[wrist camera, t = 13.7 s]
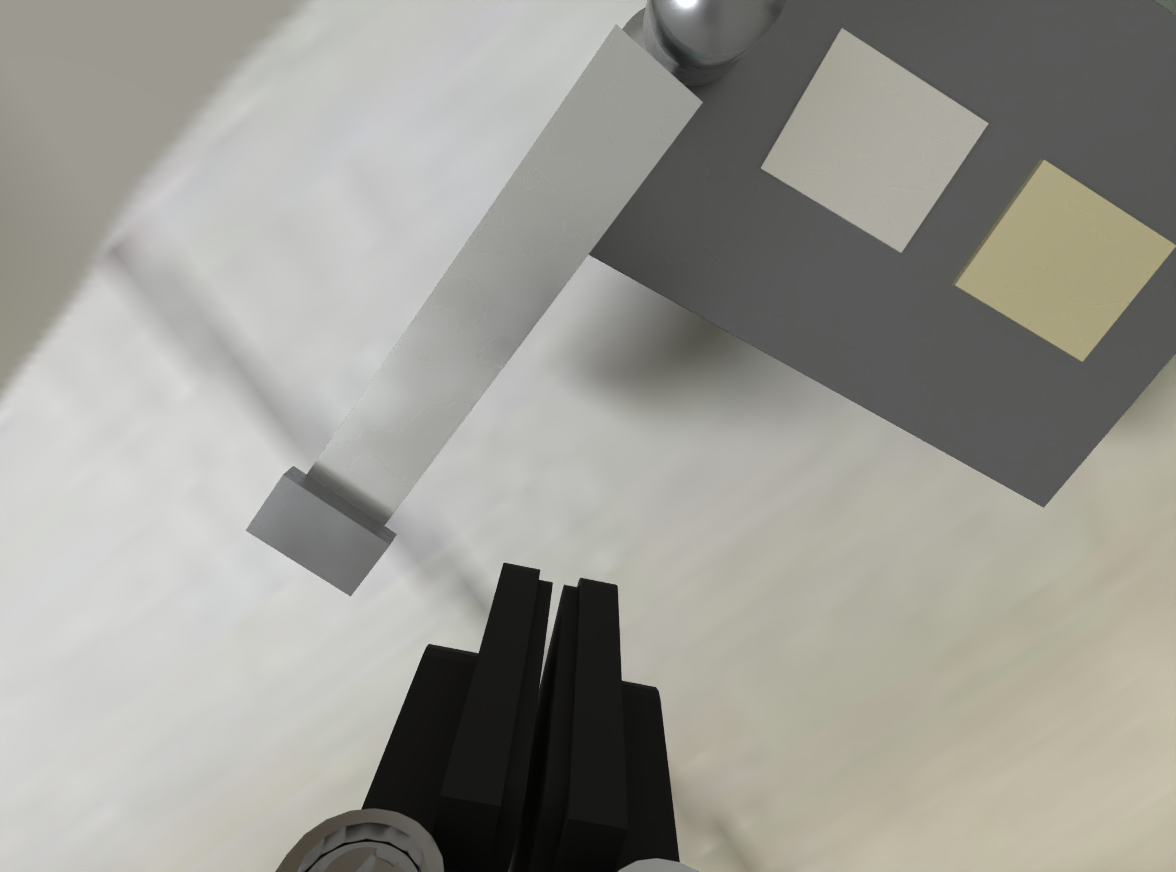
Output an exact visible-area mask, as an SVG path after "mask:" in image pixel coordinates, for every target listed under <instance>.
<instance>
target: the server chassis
mask: <svg viewBox="0 0 1176 872" xmlns="http://www.w3.org/2000/svg"><path fill="white" fill-rule="evenodd" d="M645 9H646V7H645V8H644V9H642V10H640V11H639V12H638V13H637V14H636V15H634V16H633V17H632V18H631V19H630V20H629V21H628V22H627V24H626V25H625V27H624V28H623V29H622V30H623V31H624V32H625V33H626V34H627V35H629V36H630V37H631V38H632V39H633V40H634V41H635V42H636V43H638V44H639V45H640V46H641V47H642V48H643V49H644V50H645V51H646V52H647V49H646V46H645V42H644V36H643V20H644V14H645ZM683 85H684V84H683ZM684 86H685V87H687V88H688V89H689V90H690V91H691V92H692V93H693V94H694V95H695V96H697V97H698V98H699V99H700V100H701V101H702V102H703V103H702V104H701V105H700V107H699V108H698V109H697V111H696V112H695V113H694V115H693V116H692V117H691V119H690V120H689V121H688V123H687V124H686V125H685V127H684V128H683V129H682V131H681V132H680V133H679V135H678V136H677V137H676V139H675V140H674V141H673V143H672V144H671V145H670V147H669V148H668V149H667V151H666V152H665V153H664V155H663V156H662V157H661V159H660V160H659V161H658V163H657V164H656V165H655V167H654V168H653V169H652V171H651V172H650V173H649V175H648V176H647V177H646V178H645V180H644V181H643V182H642V184H641V185H640V186H639V188H638V189H637V190H636V192H635V193H634V194H633V196H632V197H631V198H630V200H629V201H628V202H627V204H626V205H625V206H624V208H623V209H622V210H621V212H620V213H619V214H618V216H617V217H616V218H615V220H614V221H613V222H612V224H611V225H610V226H609V228H608V229H607V230H606V232H605V233H604V234H603V236H602V237H601V238H600V240H599V241H598V242H597V244H596V245H595V246H594V248H593V249H592V250H591V252H590V253H589V255H590V256H592V257H594V258H596V259H598V260H599V261H601V262H603V263H605V264H607V265H608V266H610V267H612V268H614V269H616V270H617V271H619V272H621V273H623V274H625V275H626V276H628V277H630V278H632V279H634V280H635V281H637V282H639V283H641V284H643V285H644V286H646V287H648V288H650V289H652V290H653V291H655V292H657V293H659V294H661V295H662V296H664V297H666V298H668V299H670V300H671V301H673V302H675V303H677V304H679V305H680V306H682V307H684V308H686V309H688V310H689V311H691V312H693V313H695V314H697V315H698V316H700V317H702V318H704V319H706V320H707V321H709V322H711V323H713V324H715V325H716V326H718V327H720V328H722V329H724V330H725V331H727V332H729V333H731V334H733V335H734V336H736V337H738V338H740V339H742V340H743V341H745V342H747V343H749V344H750V345H752V346H754V347H756V348H758V349H759V350H761V351H763V352H765V353H767V354H768V355H770V356H772V357H774V358H776V359H777V360H779V361H781V362H783V363H785V364H786V365H788V366H790V367H792V368H794V369H795V370H797V371H799V372H801V373H803V374H804V375H806V376H808V377H810V378H812V379H813V380H815V381H817V382H819V383H821V384H822V385H824V386H826V387H828V388H830V389H831V390H833V391H835V392H837V393H839V394H840V395H842V396H844V397H846V398H848V399H849V400H851V401H853V402H855V403H857V404H858V405H860V406H862V407H864V408H866V409H867V410H869V411H871V412H873V413H875V414H876V415H878V416H880V417H882V418H884V419H885V420H887V421H889V422H891V423H893V424H894V425H896V426H898V427H900V428H902V429H903V430H905V431H907V432H909V433H911V434H912V435H914V436H916V437H918V438H920V439H921V440H923V441H925V442H927V443H929V444H930V445H932V446H934V447H936V448H938V449H939V450H941V451H943V452H945V453H947V454H948V455H950V456H952V457H954V458H956V459H957V460H959V461H961V462H963V463H965V464H966V465H968V466H970V467H972V468H974V469H975V470H977V471H979V472H981V473H982V474H984V475H986V476H988V477H990V478H991V479H993V480H995V481H997V482H999V483H1000V484H1002V485H1004V486H1006V487H1008V488H1009V489H1011V490H1013V491H1015V492H1017V493H1018V494H1020V495H1022V496H1024V497H1026V498H1027V499H1029V500H1031V501H1033V502H1035V503H1036V504H1038V505H1040V506H1042V507H1045V506H1046V504H1047V503H1048V502H1049V501H1050V500H1051V499H1052V497H1053V496H1054V495H1055V494H1056V493H1057V492H1058V490H1059V489H1060V488H1061V487H1062V486H1063V484H1064V483H1065V482H1066V481H1067V480H1068V479H1069V477H1070V476H1071V475H1072V474H1073V473H1074V472H1075V470H1076V469H1077V468H1078V467H1079V466H1080V465H1081V463H1082V462H1083V461H1084V460H1085V459H1086V458H1087V456H1088V455H1089V454H1090V453H1091V452H1092V450H1093V449H1094V448H1095V447H1096V446H1097V445H1098V443H1099V442H1100V441H1101V440H1102V439H1103V438H1104V436H1105V435H1106V434H1107V433H1108V432H1109V431H1110V429H1111V428H1112V427H1113V426H1114V425H1115V424H1116V422H1117V421H1118V420H1119V419H1120V418H1121V416H1122V415H1123V414H1124V413H1125V412H1126V411H1127V409H1128V408H1129V407H1130V406H1131V405H1132V404H1133V402H1134V401H1135V400H1136V399H1137V398H1138V397H1139V395H1140V394H1141V393H1142V392H1143V391H1144V390H1145V388H1146V387H1147V386H1148V385H1149V384H1150V382H1151V381H1152V380H1153V379H1154V378H1155V377H1156V375H1157V374H1158V373H1159V372H1160V371H1161V370H1162V368H1163V367H1164V366H1165V365H1166V364H1167V363H1168V361H1169V360H1170V359H1171V358H1172V357H1173V356H1174V354H1175V353H1176V16H1175V15H1174V14H1172V13H1171V12H1169V11H1168V10H1167V9H1165V8H1164V7H1162V6H1161V5H1160V4H1158V3H1157V2H1155V1H1154V0H786V3H785V6H784V8H783V10H782V12H781V14H780V16H779V17H778V19H777V20H776V22H775V23H774V25H773V26H772V27H771V28H770V29H769V30H768V32H767V33H766V34H765V35H764V36H763V37H762V38H761V39H760V40H759V41H758V42H757V43H756V44H755V45H754V46H753V47H752V48H751V49H750V50H749V51H748V52H747V53H746V54H745V55H744V56H743V57H742V58H741V59H740V61H739V62H738V63H737V64H736V65H735V66H734V67H733V68H732V69H731V70H730V71H729V72H727V73H726V74H725V75H724V76H722V77H721V78H719V79H717V80H715V81H713V82H711V83H708V84H704V85H697V86H690V85H684Z"/></svg>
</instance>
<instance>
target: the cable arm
mask: <svg viewBox="0 0 1176 872" xmlns="http://www.w3.org/2000/svg"><path fill="white" fill-rule="evenodd" d="M785 3H786V0H647V4H646V9H645V14H644V20H643V36H644V42H645V46H646V49H647V52H646V51H645V50H644V49H643V48H642V47H641V46H640V45H639V44H638V43H636V42H635V41H634V40H633V39H632V38H631V37H630V36H629V35H627V34H626V33H625V32H624V31H623V30H622V29H621V28H620V27H619V26H617V25H615V27H614V28H613V30H612V31H611V32H610V34H609V35H608V37H607V38H606V40H605V41H604V43H603V44H602V46H601V47H600V48H599V50H598V51H597V53H596V54H595V56H594V57H593V59H592V60H591V62H590V63H589V65H588V66H587V67H586V69H585V70H584V72H583V73H582V75H581V76H580V78H579V79H578V81H577V82H576V83H575V85H574V86H573V88H572V89H571V91H570V92H569V94H568V95H567V97H566V98H565V99H564V101H563V102H562V104H561V105H560V107H559V108H558V110H557V111H556V113H555V114H554V115H553V117H552V118H551V120H550V121H549V123H548V124H547V126H546V127H545V129H544V130H543V131H542V133H541V134H540V136H539V137H538V139H537V140H536V142H535V143H534V145H533V146H532V148H531V149H530V150H529V152H528V153H527V155H526V156H525V158H524V159H523V161H522V162H521V164H520V165H519V166H518V168H517V169H516V171H515V172H514V174H513V175H512V177H511V178H510V180H509V181H508V182H507V184H506V185H505V187H504V188H503V190H502V191H501V193H500V194H499V196H498V197H497V198H496V200H495V201H494V203H493V204H492V206H491V207H490V209H489V210H488V212H487V213H486V214H485V216H484V217H483V219H482V220H481V222H480V223H479V225H478V226H477V228H476V229H475V230H474V232H473V233H472V235H471V236H470V238H469V239H468V241H467V242H466V244H465V245H464V247H463V248H462V249H461V251H460V252H459V254H458V255H457V257H456V258H455V260H454V261H453V263H452V264H451V265H450V267H449V268H448V270H447V271H446V273H445V274H444V276H443V277H442V279H441V280H440V281H439V283H438V284H437V286H436V287H435V289H434V290H433V292H432V293H431V295H430V296H429V297H428V299H427V300H426V302H425V303H424V305H423V306H422V308H421V309H420V311H419V312H418V313H417V315H416V316H415V318H414V319H413V321H412V322H411V324H410V325H409V327H408V328H407V330H406V331H405V332H404V334H403V335H402V337H401V338H400V340H399V341H398V343H397V344H396V346H395V347H394V348H393V350H392V351H391V353H390V354H389V356H388V357H387V359H386V360H385V362H384V363H383V364H382V366H381V367H380V369H379V370H378V372H377V373H376V375H375V376H374V378H373V379H372V380H371V382H370V383H369V385H368V386H367V388H366V389H365V391H364V392H363V394H362V395H361V396H360V398H359V399H358V401H357V402H356V404H355V405H354V407H353V408H352V410H351V411H350V413H349V414H348V415H347V417H346V418H345V420H344V421H343V423H342V424H341V426H340V427H339V429H338V430H337V431H336V433H335V434H334V436H333V437H332V439H331V440H330V442H329V443H328V445H327V446H326V447H325V449H324V450H323V452H322V453H321V455H320V456H319V458H318V459H317V461H316V462H315V463H314V465H313V466H312V468H311V469H310V471H309V472H308V474H307V475H306V474H305V473H303V472H302V471H300V470H299V469H297V468H296V467H294V466H293V467H292V468H291V469H289V470H288V471H287V472H286V473H285V474H284V475H283V476H282V477H281V479H280V480H279V482H278V483H277V485H276V486H275V488H274V489H273V491H272V492H271V494H270V495H269V496H268V498H267V499H266V501H265V502H264V504H263V505H262V507H261V508H260V510H259V511H258V513H257V514H256V516H255V517H254V519H253V520H252V522H251V523H250V525H249V526H248V528H247V529H246V531H247V532H249V533H251V534H252V535H254V536H255V537H257V538H259V539H260V540H262V541H263V542H265V543H266V544H268V545H270V546H271V547H273V548H274V549H276V550H278V551H279V552H281V553H282V554H284V555H286V556H287V557H289V558H290V559H292V560H294V561H295V562H297V563H298V564H300V565H302V566H303V567H305V568H306V569H308V570H309V571H311V572H313V573H314V574H316V575H317V576H319V577H321V578H322V579H324V580H325V581H327V582H329V583H330V584H332V585H333V586H335V587H337V588H338V589H340V590H341V591H343V592H345V593H346V594H348V595H349V596H351V595H352V594H353V593H354V591H355V590H356V589H357V587H358V586H359V585H360V583H361V582H362V581H363V580H364V578H365V577H366V576H367V574H368V573H369V572H370V570H371V569H372V568H373V566H374V565H375V564H376V563H377V561H378V560H379V559H380V557H381V556H382V555H383V553H384V552H385V551H386V549H387V548H388V547H389V546H390V544H391V542H392V541H393V539H394V538H395V536H396V533H394V532H393V531H391V530H390V529H388V528H387V527H385V526H384V525H385V524H386V523H387V521H388V520H389V519H390V517H391V516H392V515H393V513H394V512H395V511H396V509H397V508H398V507H399V505H400V504H401V503H402V501H403V500H404V499H405V497H406V496H407V495H408V493H409V492H410V491H411V489H412V488H413V487H414V485H415V484H416V483H417V482H418V480H419V479H420V478H421V476H422V475H423V474H424V472H425V471H426V470H427V468H428V467H429V466H430V464H431V463H432V462H433V460H434V459H435V458H436V456H437V455H438V454H439V452H440V451H441V450H442V448H443V447H444V446H445V444H446V443H447V442H448V440H449V439H450V438H451V436H452V435H453V434H454V432H455V431H456V430H457V428H458V427H459V426H460V424H461V423H462V422H463V420H464V419H465V418H466V416H467V415H468V414H469V412H470V411H471V410H472V408H473V407H474V406H475V404H476V403H477V402H478V400H479V399H480V398H481V396H482V395H483V394H484V392H485V391H486V390H487V388H488V387H489V386H490V384H491V383H492V382H493V381H494V379H495V378H496V377H497V375H498V374H499V373H500V371H501V370H502V369H503V367H504V366H505V365H506V363H507V362H508V361H509V359H510V358H511V357H512V355H513V354H514V353H515V351H516V350H517V349H518V347H519V346H520V345H521V343H522V342H523V341H524V339H525V338H526V337H527V335H528V334H529V333H530V331H531V330H532V329H533V327H534V326H535V325H536V323H537V322H538V321H539V319H540V318H541V317H542V315H543V314H544V313H545V311H546V310H547V309H548V307H549V306H550V305H551V303H552V302H553V301H554V299H555V298H556V297H557V295H558V294H559V293H560V291H561V290H562V289H563V287H564V286H565V285H566V283H567V282H568V281H569V280H570V278H571V277H572V276H573V274H574V273H575V272H576V270H577V269H578V268H579V266H580V265H581V264H582V262H583V261H584V260H585V258H586V257H587V256H588V254H589V253H590V252H591V250H592V249H593V248H594V246H595V245H596V244H597V242H598V241H599V240H600V238H601V237H602V236H603V234H604V233H605V232H606V230H607V229H608V228H609V226H610V225H611V224H612V222H613V221H614V220H615V218H616V217H617V216H618V214H619V213H620V212H621V210H622V209H623V208H624V206H625V205H626V204H627V202H628V201H629V200H630V198H631V197H632V196H633V194H634V193H635V192H636V190H637V189H638V188H639V186H640V185H641V184H642V182H643V181H644V180H645V178H646V177H647V176H648V175H649V173H650V172H651V171H652V169H653V168H654V167H655V165H656V164H657V163H658V161H659V160H660V159H661V157H662V156H663V155H664V153H665V152H666V151H667V149H668V148H669V147H670V145H671V144H672V143H673V141H674V140H675V139H676V137H677V136H678V135H679V133H680V132H681V131H682V129H683V128H684V127H685V125H686V124H687V123H688V121H689V120H690V119H691V117H692V116H693V115H694V113H695V112H696V111H697V109H698V108H699V107H700V105H701V104H702V103H703V102H702V101H701V100H700V99H699V98H698V97H697V96H695V95H694V94H693V93H692V92H691V91H690V90H689V89H688V88H687V87H685V86H684V85H690V86H697V85H704V84H708V83H711V82H713V81H715V80H717V79H719V78H721V77H722V76H724V75H725V74H726V73H727V72H729V71H730V70H731V69H732V68H733V67H734V66H735V65H736V64H737V63H738V62H739V61H740V59H741V58H742V57H743V56H744V55H745V54H746V53H747V52H748V51H749V50H750V49H751V48H752V47H753V46H754V45H755V44H756V43H757V42H758V41H759V40H760V39H761V38H762V37H763V36H764V35H765V34H766V33H767V32H768V30H769V29H770V28H771V27H772V26H773V25H774V23H775V22H776V20H777V19H778V17H779V16H780V14H781V12H782V10H783V8H784V6H785ZM683 84H684V85H683Z"/></svg>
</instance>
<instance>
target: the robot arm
mask: <svg viewBox="0 0 1176 872" xmlns="http://www.w3.org/2000/svg"><path fill="white" fill-rule="evenodd" d="M539 575H540V570H539V569H534V568H529V567H524V566H519V565H514V564H509V563H503V567H502V570H501V574H500V578H499V581H498V585H497V589H496V592H495V596H494V600H493V603H492V607H491V610H490V614H489V618H488V621H487V625H486V629H485V632H484V636H483V640H482V643H481V647H480V651H479V653H474V652H469V651H463V650H458V649H453V648H448V647H442V646H437V645H432V644H428V646H427V647H426V649H425V651H424V653H423V656H422V658H421V661H420V663H419V666H418V668H417V671H416V673H415V676H414V678H413V681H412V683H411V686H410V688H409V691H408V693H407V696H406V698H405V701H404V704H403V706H402V709H401V711H400V714H399V716H398V719H397V721H396V724H395V726H394V729H393V731H392V734H391V736H390V739H389V741H388V744H387V746H386V749H385V751H384V754H383V756H382V759H381V761H380V764H379V766H378V769H377V771H376V774H375V776H374V779H373V781H372V784H371V786H370V789H369V791H368V794H367V797H366V799H365V802H364V804H363V807H362V809H361V810H353V811H349V812H346V813H343V814H340V815H338V816H335V817H332V818H329V819H327V820H325V821H324V822H322V823H321V824H319V825H318V826H316V827H315V828H313V829H312V830H310V831H309V832H307V833H306V834H305V835H304V836H303V837H302V838H301V839H300V840H299V841H298V842H297V844H296V845H295V846H294V847H293V848H292V849H291V850H290V852H289V853H288V854H287V855H286V857H285V858H284V860H283V861H282V863H281V864H280V866H279V867H278V869H277V870H276V872H508V871H509V872H699V871H696V870H694V869H692V868H690V867H688V866H686V865H684V864H682V863H680V861H679V852H678V844H677V835H676V827H675V819H674V810H673V802H672V793H671V785H670V777H669V768H668V760H667V751H666V743H665V735H664V726H663V718H662V709H661V701H660V696H659V691H658V690H657V688H656V687H652V686H647V685H642V684H636V683H631V682H626V681H622V677H621V653H620V629H619V606H618V587H617V585H615V584H610V583H604V582H599V581H594V580H589V579H584V578H580V580H579V583H578V586H577V587H573V586H568V585H564V587H563V590H562V594H561V598H560V603H559V607H558V611H557V616H556V620H555V624H554V628H553V633H552V637H551V641H550V646H549V650H548V654H547V658H546V663H545V667H544V671H543V675H542V680H541V684H540V678H541V671H542V663H543V655H544V647H545V640H546V632H547V624H548V616H549V609H550V601H551V593H552V585H553V582H548V581H543V580H539ZM539 686H540V688H539Z"/></svg>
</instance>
